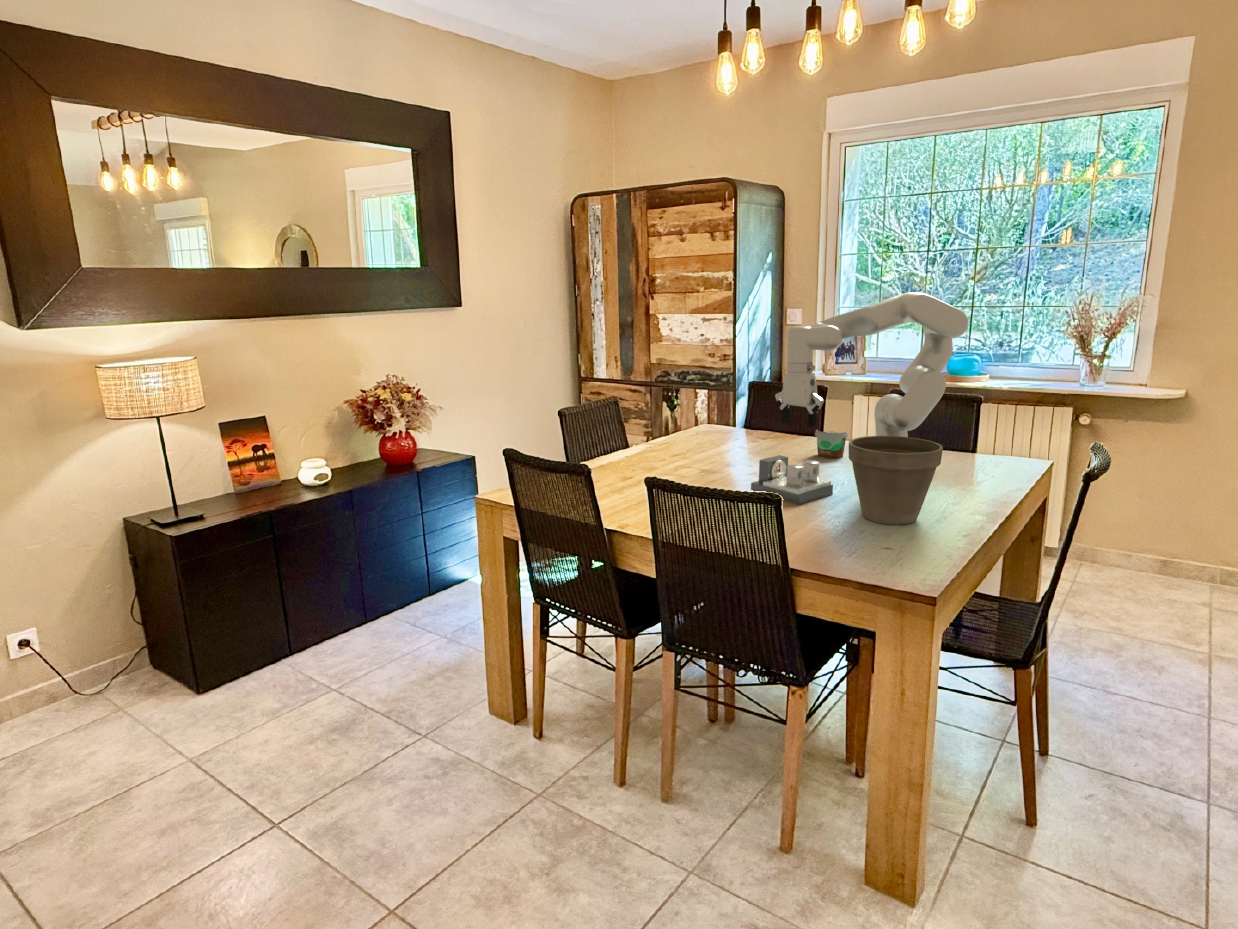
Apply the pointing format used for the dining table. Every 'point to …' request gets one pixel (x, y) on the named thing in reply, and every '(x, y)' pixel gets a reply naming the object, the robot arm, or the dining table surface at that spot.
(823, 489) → the dial scale
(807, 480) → the cylinder
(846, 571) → the dining table surface
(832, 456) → the food container
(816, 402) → the robot arm
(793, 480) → the steel spacer
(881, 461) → the plant pot
